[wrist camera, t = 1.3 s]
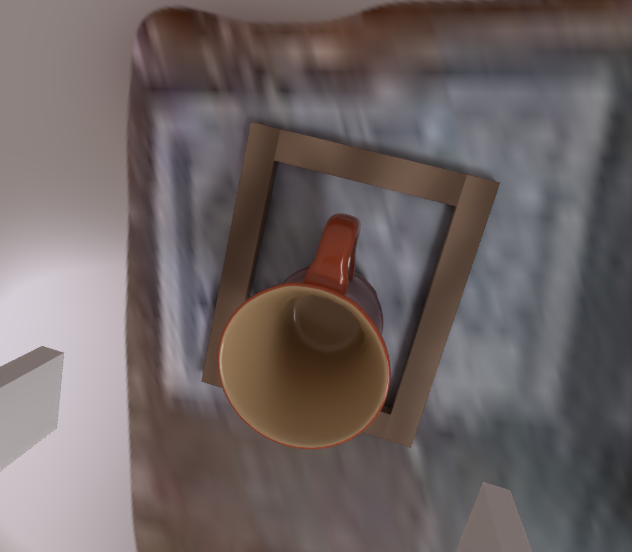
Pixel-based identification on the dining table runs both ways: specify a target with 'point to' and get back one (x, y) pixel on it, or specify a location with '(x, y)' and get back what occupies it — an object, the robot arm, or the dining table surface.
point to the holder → (380, 171)
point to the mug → (309, 350)
